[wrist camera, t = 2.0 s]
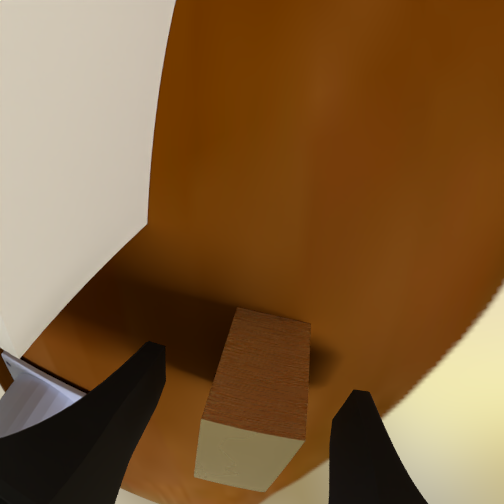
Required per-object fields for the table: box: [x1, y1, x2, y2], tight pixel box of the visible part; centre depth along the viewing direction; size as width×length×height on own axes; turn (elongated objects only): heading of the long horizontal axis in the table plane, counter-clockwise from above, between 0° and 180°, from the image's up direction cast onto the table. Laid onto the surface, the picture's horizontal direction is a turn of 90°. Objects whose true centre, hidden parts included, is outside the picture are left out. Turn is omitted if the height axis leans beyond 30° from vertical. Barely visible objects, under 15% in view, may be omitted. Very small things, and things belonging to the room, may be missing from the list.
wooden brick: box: [194, 306, 311, 492], centre depth 10 cm, size 4×2×4 cm, turn 170°
